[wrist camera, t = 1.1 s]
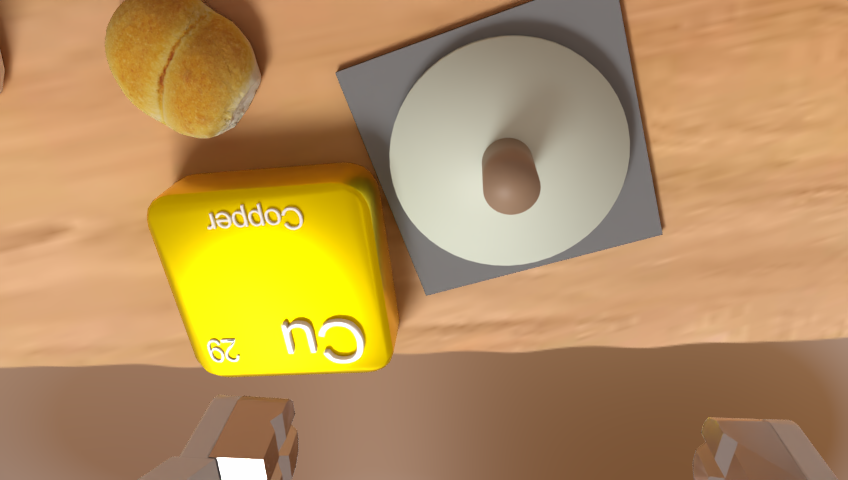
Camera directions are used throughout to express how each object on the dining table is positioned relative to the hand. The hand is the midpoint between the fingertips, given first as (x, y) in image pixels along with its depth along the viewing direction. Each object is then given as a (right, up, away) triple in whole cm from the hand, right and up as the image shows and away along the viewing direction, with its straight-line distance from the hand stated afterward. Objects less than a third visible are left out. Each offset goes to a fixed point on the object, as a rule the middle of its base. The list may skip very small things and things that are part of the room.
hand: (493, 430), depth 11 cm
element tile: (-11, +2, +31) cm, 33 cm away
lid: (+4, +9, +25) cm, 27 cm away
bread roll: (-16, +15, +24) cm, 33 cm away
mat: (+4, +9, +25) cm, 27 cm away
